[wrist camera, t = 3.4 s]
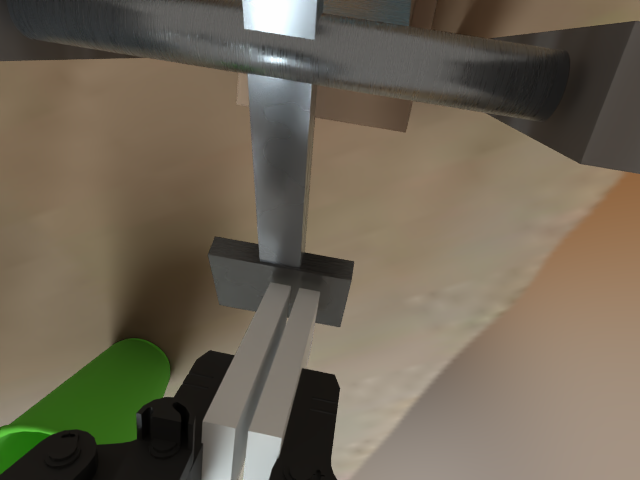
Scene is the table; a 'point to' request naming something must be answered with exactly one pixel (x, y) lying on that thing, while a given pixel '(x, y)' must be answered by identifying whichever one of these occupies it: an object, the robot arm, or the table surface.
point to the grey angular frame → (556, 132)
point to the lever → (304, 98)
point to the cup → (93, 400)
